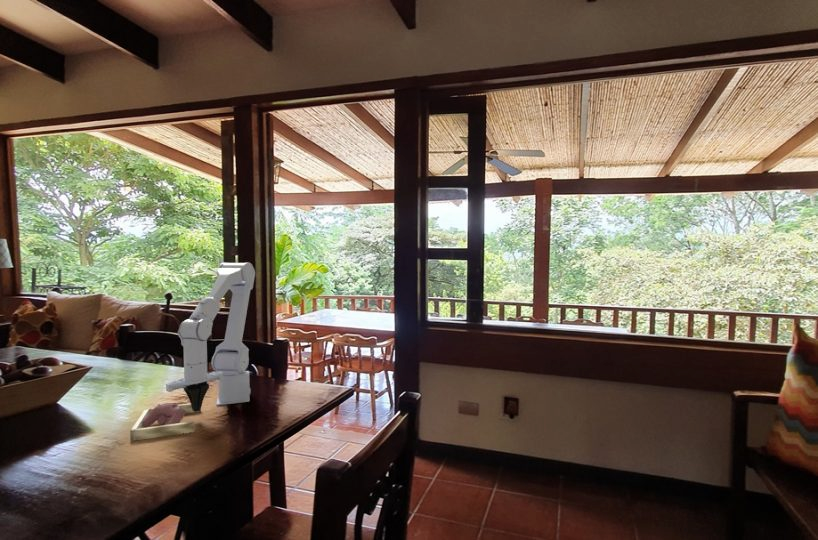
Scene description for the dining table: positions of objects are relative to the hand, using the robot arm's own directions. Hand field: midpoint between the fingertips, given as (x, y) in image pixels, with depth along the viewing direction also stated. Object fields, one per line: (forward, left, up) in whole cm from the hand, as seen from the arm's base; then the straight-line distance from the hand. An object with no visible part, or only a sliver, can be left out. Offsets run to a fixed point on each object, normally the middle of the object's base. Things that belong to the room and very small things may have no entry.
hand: (196, 410), depth 113 cm
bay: (+7, 0, -3) cm, 7 cm away
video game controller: (+8, +1, -3) cm, 8 cm away
